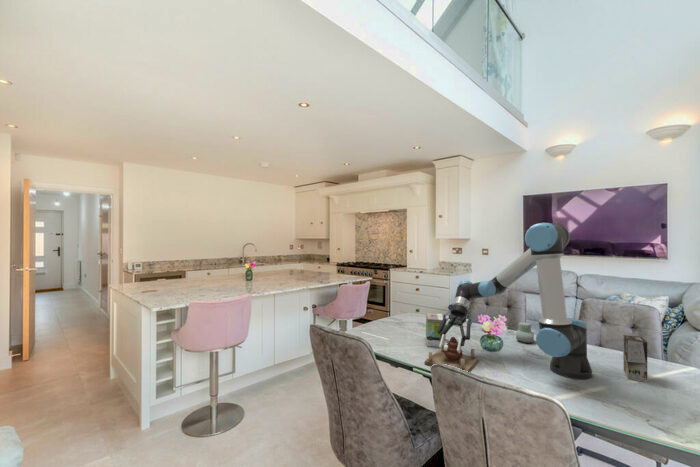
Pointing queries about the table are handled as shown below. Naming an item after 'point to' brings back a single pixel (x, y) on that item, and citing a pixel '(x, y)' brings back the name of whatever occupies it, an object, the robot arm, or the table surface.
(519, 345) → the table surface
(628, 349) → the coffee box
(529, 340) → the air freshener
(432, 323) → the tea box
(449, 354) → the poop emoji
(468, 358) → the stand
